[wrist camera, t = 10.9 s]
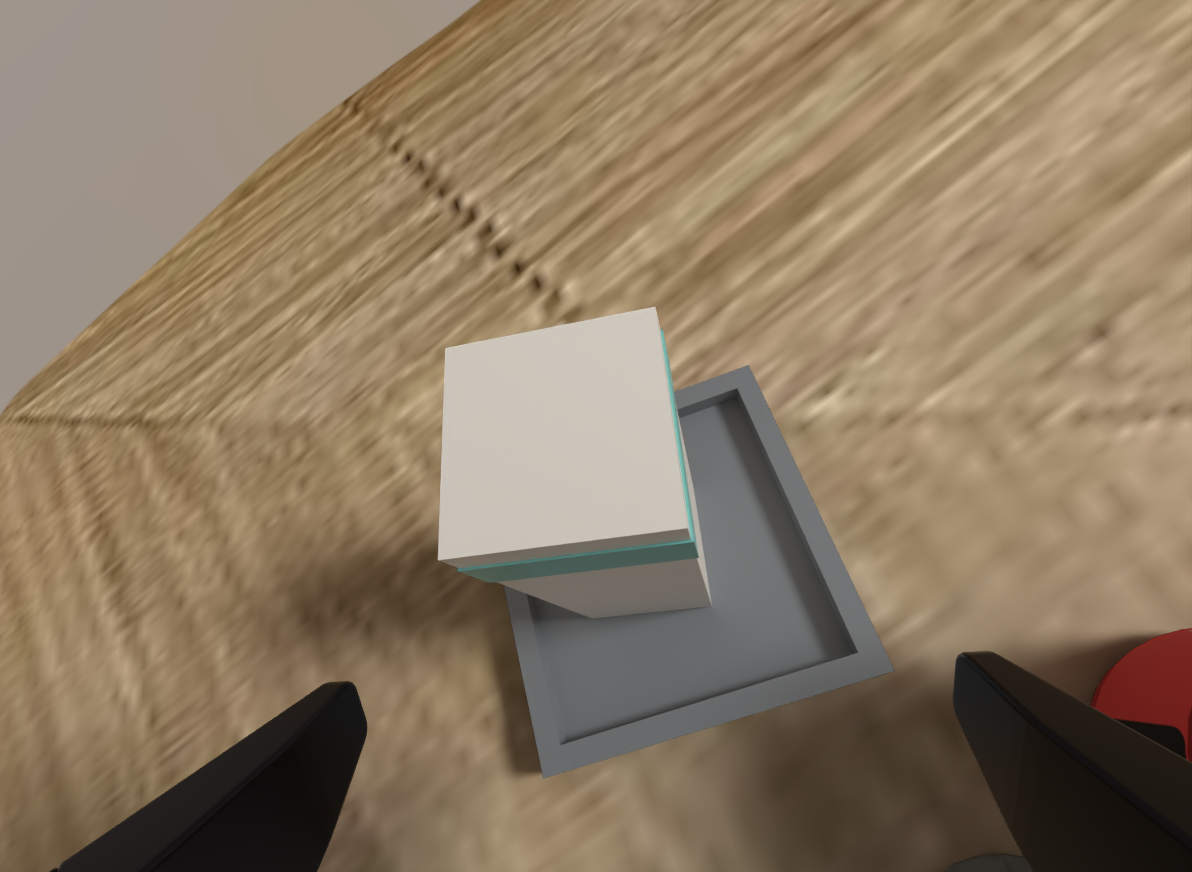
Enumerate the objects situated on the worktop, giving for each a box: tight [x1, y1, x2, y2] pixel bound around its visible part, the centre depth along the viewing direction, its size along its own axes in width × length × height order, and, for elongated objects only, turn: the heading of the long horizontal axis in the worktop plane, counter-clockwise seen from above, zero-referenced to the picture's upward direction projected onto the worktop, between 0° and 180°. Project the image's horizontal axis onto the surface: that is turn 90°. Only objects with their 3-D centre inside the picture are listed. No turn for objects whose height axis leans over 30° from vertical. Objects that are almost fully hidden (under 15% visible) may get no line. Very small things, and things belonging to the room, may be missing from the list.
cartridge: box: [438, 307, 712, 619], centre depth 16 cm, size 5×5×12 cm
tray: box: [504, 365, 895, 778], centre depth 22 cm, size 12×12×2 cm
